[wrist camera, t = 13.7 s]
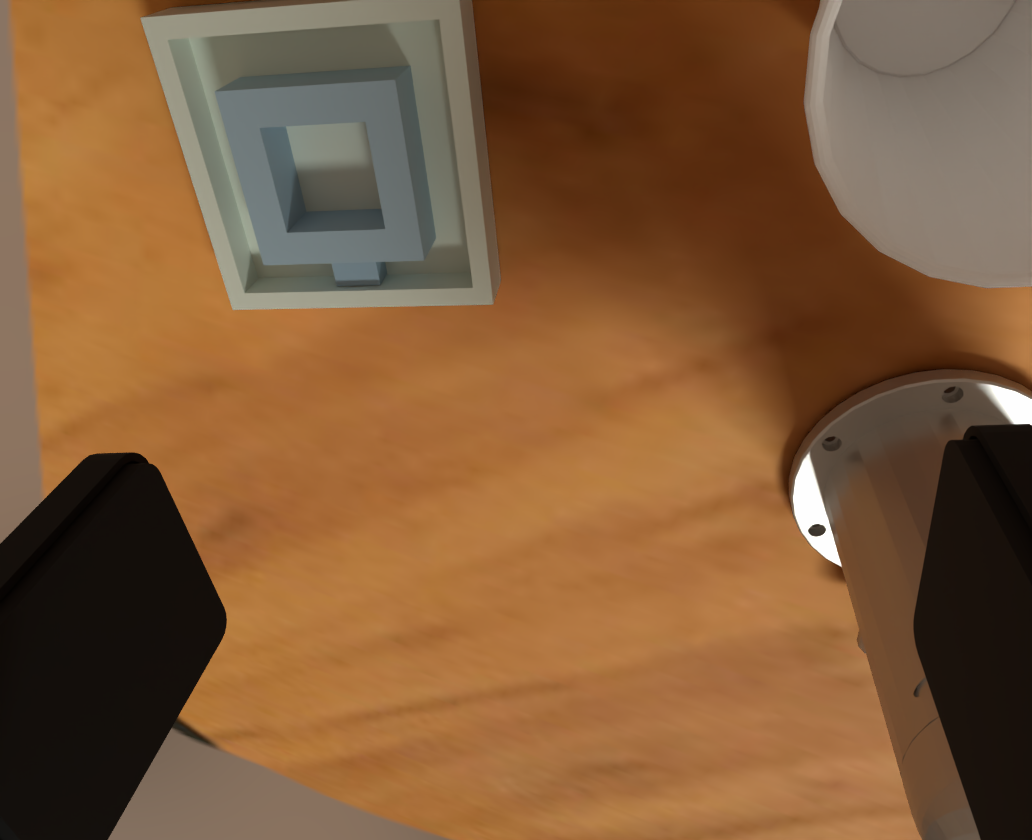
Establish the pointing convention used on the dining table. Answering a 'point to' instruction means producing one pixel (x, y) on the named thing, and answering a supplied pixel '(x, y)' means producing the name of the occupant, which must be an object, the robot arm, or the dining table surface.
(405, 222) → the blue-grey rectangular frame
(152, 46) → the tray
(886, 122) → the cup
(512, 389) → the dining table surface
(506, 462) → the dining table surface
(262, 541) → the dining table surface
